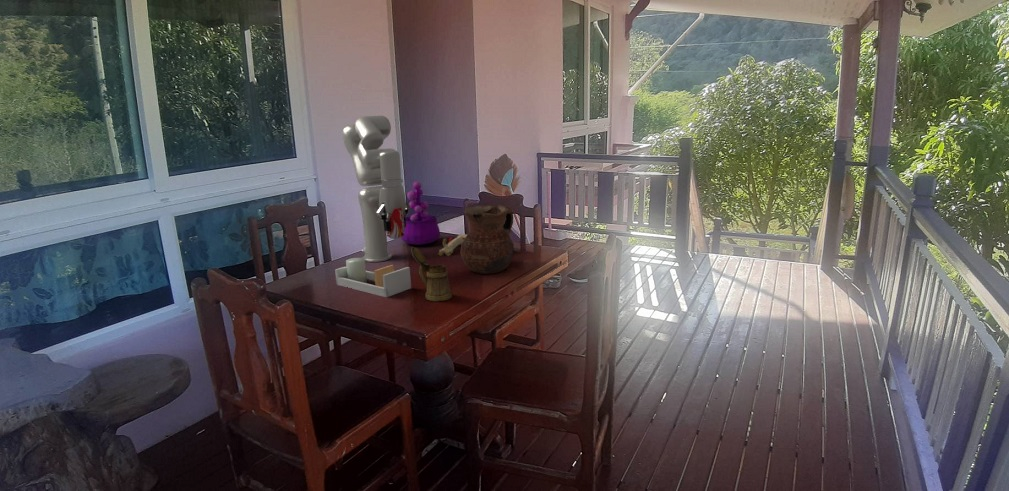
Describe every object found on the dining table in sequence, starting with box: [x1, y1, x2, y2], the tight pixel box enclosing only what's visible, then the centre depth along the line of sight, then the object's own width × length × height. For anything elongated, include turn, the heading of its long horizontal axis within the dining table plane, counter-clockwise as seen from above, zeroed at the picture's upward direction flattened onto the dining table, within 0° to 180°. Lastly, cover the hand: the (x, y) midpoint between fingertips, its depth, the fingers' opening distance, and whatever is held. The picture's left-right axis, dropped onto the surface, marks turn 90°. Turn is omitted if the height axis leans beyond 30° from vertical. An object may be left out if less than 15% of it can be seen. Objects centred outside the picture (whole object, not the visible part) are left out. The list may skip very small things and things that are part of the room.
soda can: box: [386, 207, 405, 240], centre depth 227 cm, size 7×7×12 cm
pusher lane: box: [334, 266, 412, 298], centre depth 218 cm, size 28×12×8 cm, turn 53°
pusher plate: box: [373, 264, 395, 287], centre depth 214 cm, size 1×8×8 cm, turn 143°
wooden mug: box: [411, 246, 453, 302], centre depth 203 cm, size 9×14×18 cm, turn 74°
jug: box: [460, 204, 515, 275], centre depth 233 cm, size 22×21×25 cm
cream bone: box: [437, 233, 468, 257], centre depth 270 cm, size 10×9×25 cm
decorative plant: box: [400, 181, 441, 246], centre depth 280 cm, size 19×18×30 cm
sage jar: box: [345, 257, 368, 284], centre depth 224 cm, size 7×7×9 cm
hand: (395, 228), depth 228 cm, fingers closed on soda can, 7 cm apart
